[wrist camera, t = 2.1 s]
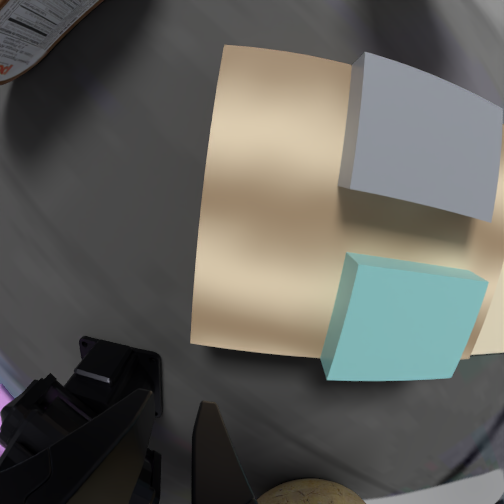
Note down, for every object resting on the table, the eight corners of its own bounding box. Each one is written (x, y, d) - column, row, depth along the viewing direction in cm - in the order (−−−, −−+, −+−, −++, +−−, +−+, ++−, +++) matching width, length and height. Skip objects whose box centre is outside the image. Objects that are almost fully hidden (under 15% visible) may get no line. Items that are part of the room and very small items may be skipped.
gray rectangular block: (469, 216, 14) (491, 222, 12) (337, 185, 14) (349, 188, 12) (480, 112, 12) (502, 108, 10) (351, 64, 12) (364, 51, 10)
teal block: (437, 360, 16) (451, 377, 14) (319, 358, 16) (326, 380, 14) (468, 270, 15) (488, 282, 13) (346, 252, 15) (358, 264, 13)
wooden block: (442, 332, 20) (468, 358, 16) (202, 311, 20) (190, 343, 16) (485, 136, 16) (522, 135, 12) (231, 69, 16) (224, 44, 12)
